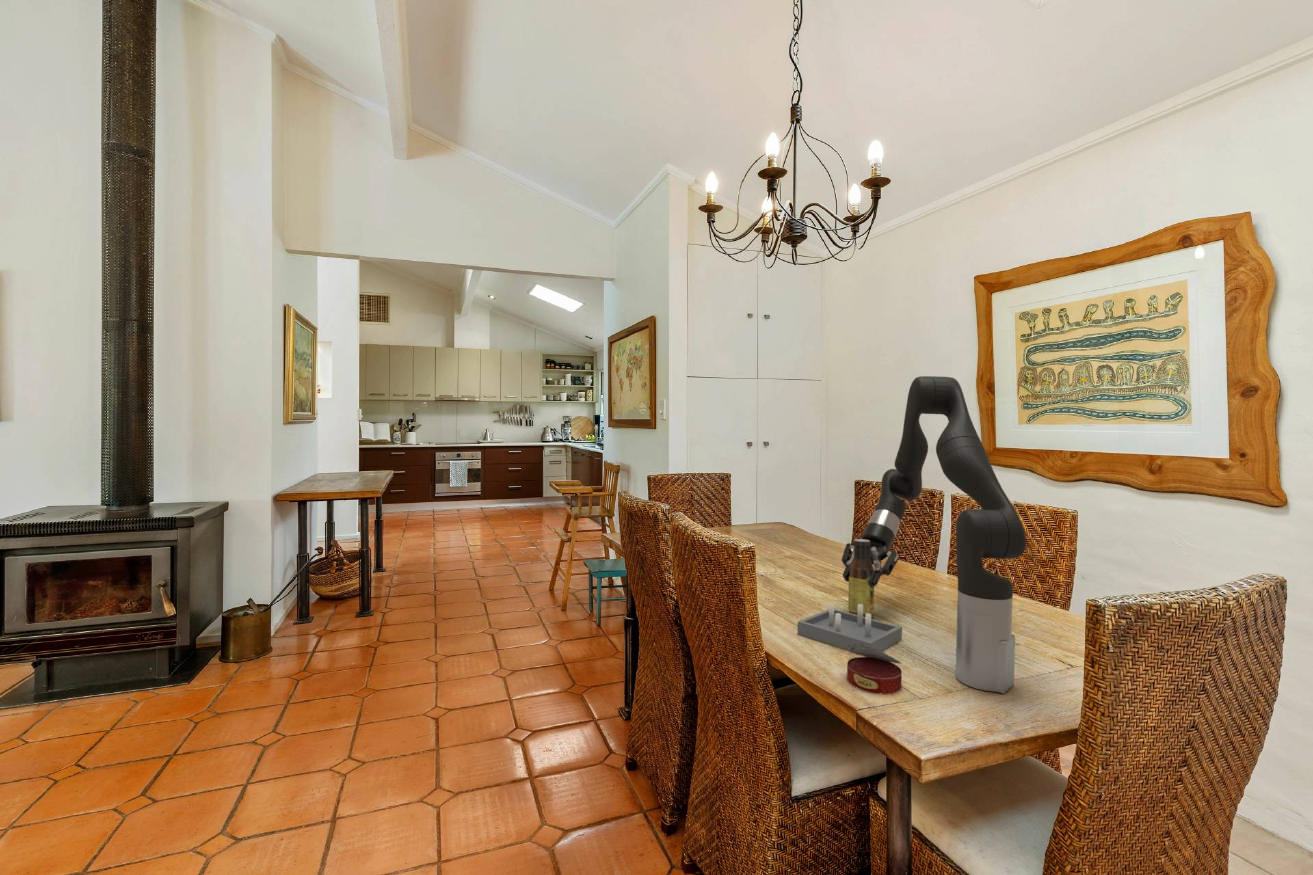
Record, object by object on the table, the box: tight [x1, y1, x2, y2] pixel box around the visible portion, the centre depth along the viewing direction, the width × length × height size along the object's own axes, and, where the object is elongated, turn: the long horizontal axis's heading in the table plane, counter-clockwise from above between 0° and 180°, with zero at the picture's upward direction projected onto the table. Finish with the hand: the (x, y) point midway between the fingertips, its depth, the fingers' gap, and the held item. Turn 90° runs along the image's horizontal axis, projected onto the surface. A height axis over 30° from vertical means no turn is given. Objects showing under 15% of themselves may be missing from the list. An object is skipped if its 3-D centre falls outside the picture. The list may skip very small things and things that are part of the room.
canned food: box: [846, 642, 903, 695], centre depth 111 cm, size 11×10×10 cm
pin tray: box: [797, 603, 903, 652], centre depth 134 cm, size 18×15×6 cm
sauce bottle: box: [847, 538, 875, 619], centre depth 148 cm, size 6×6×20 cm
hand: (858, 582), depth 147 cm, fingers closed on sauce bottle, 6 cm apart
